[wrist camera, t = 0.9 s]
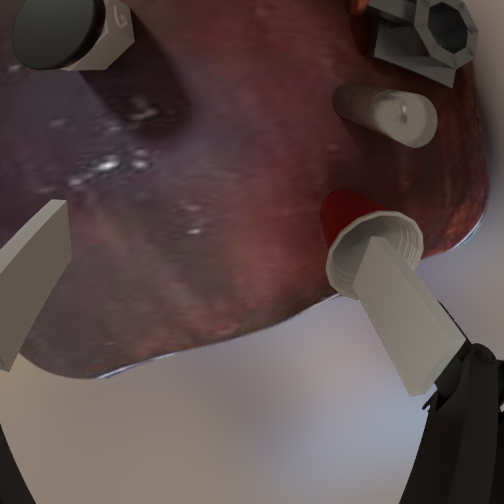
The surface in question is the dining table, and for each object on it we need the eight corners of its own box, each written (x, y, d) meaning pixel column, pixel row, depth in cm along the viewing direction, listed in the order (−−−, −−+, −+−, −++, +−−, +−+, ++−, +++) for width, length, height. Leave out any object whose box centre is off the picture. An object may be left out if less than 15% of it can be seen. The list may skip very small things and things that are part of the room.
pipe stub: (336, 79, 31) (399, 86, 19) (369, 88, 32) (442, 103, 20) (329, 115, 33) (387, 140, 22) (362, 122, 34) (430, 153, 22)
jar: (140, 59, 28) (103, 52, 18) (74, 81, 28) (18, 89, 18) (129, -10, 23) (92, -42, 13) (64, 15, 23) (7, 0, 13)
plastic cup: (282, 222, 40) (305, 278, 30) (335, 154, 36) (380, 189, 26) (341, 260, 44) (374, 317, 34) (391, 201, 40) (440, 246, 30)
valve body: (344, -39, 23) (369, -56, 17) (453, 11, 26) (488, 8, 20) (331, 46, 29) (356, 41, 23) (443, 86, 32) (478, 94, 26)
